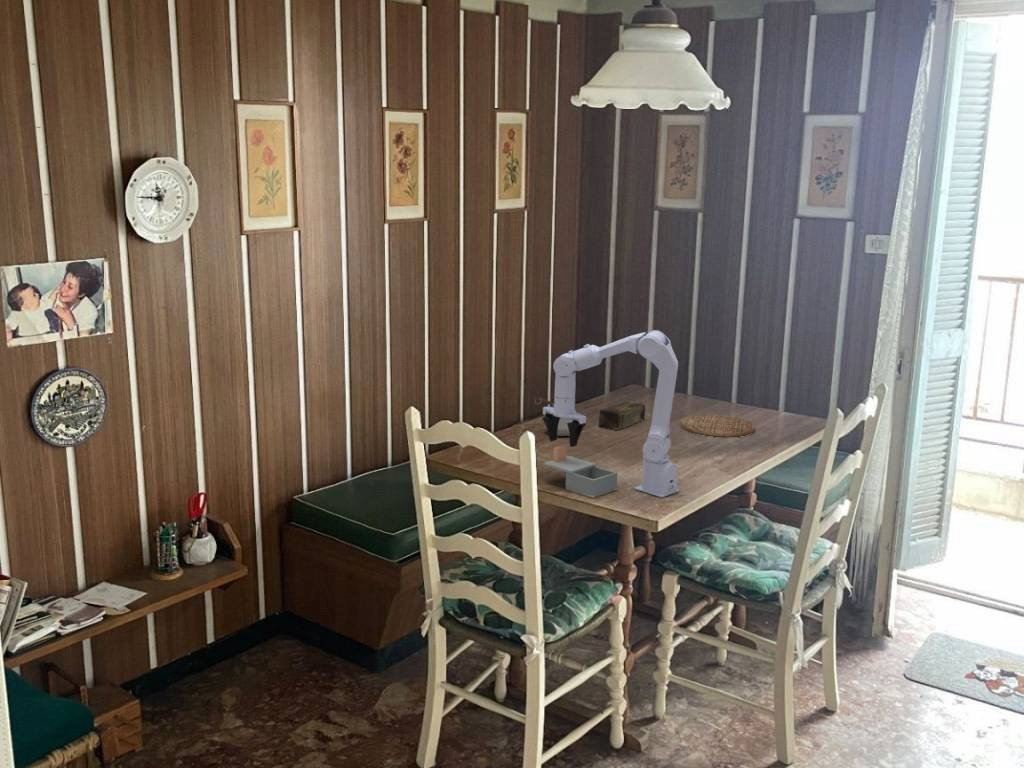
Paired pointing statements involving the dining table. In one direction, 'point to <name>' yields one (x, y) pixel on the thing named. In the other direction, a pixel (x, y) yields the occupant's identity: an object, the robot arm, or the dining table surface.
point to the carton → (592, 481)
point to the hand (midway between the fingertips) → (563, 443)
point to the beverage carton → (621, 415)
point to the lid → (567, 461)
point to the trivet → (717, 425)
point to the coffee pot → (562, 425)
